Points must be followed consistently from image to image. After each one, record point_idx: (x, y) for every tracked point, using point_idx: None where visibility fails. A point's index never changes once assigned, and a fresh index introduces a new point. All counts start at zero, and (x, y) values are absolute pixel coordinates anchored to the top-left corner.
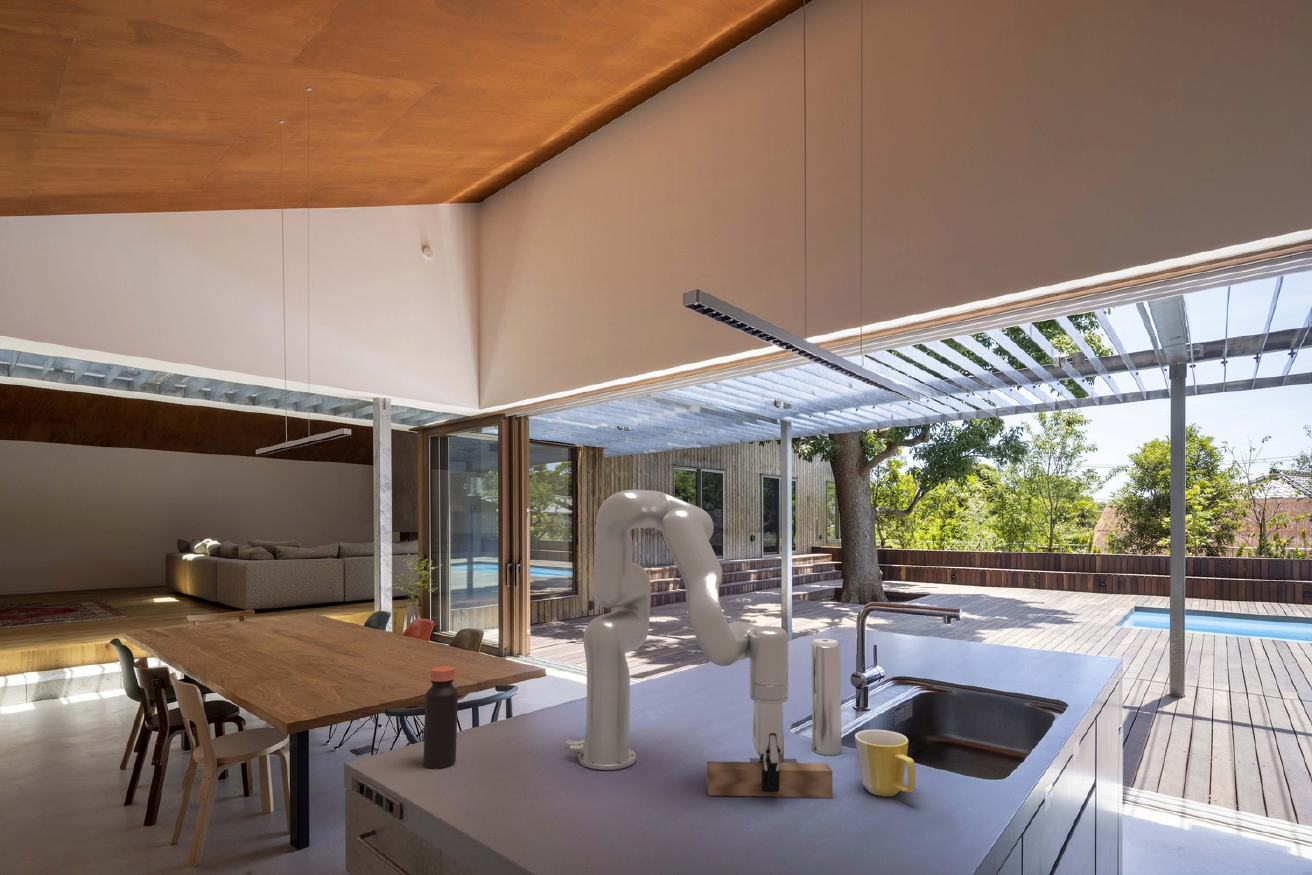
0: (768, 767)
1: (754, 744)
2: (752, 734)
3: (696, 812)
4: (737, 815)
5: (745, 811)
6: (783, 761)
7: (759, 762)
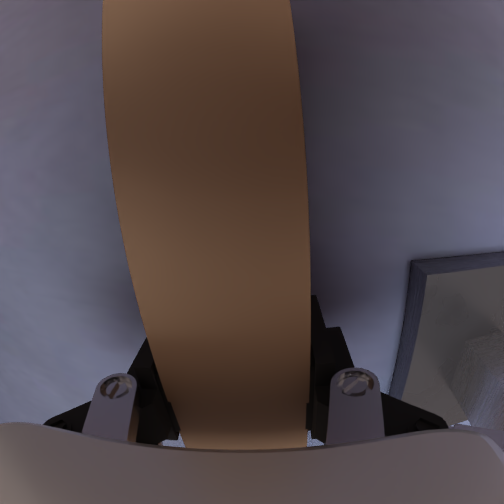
0: (75, 409)
1: (213, 475)
2: (494, 465)
3: (22, 27)
4: (10, 176)
5: (41, 205)
6: (458, 402)
7: (306, 361)
